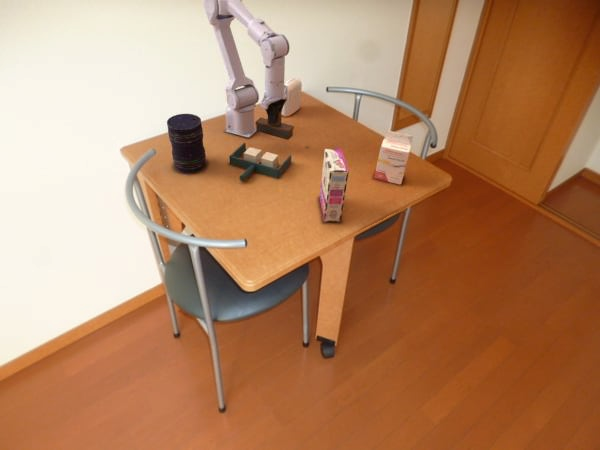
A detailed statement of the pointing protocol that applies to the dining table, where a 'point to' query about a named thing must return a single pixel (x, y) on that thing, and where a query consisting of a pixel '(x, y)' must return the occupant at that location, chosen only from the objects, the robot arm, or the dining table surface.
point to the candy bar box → (333, 185)
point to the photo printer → (292, 97)
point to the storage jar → (187, 143)
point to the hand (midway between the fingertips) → (274, 121)
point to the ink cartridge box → (393, 157)
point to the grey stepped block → (275, 127)
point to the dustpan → (255, 165)
